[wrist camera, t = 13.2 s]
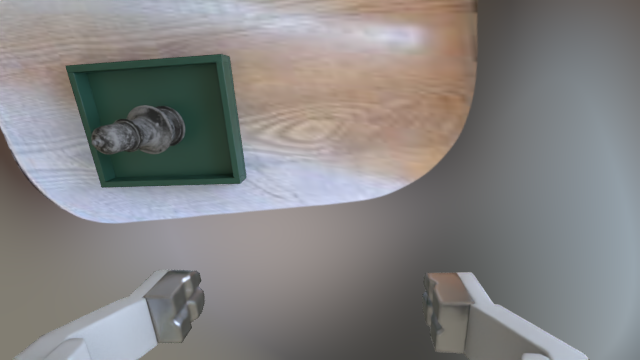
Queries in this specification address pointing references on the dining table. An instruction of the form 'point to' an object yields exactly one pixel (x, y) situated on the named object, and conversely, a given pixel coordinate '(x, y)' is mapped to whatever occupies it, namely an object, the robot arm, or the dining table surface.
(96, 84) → the tray
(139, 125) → the dark grey chess piece
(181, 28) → the dining table surface
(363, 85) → the dining table surface
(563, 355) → the robot arm
